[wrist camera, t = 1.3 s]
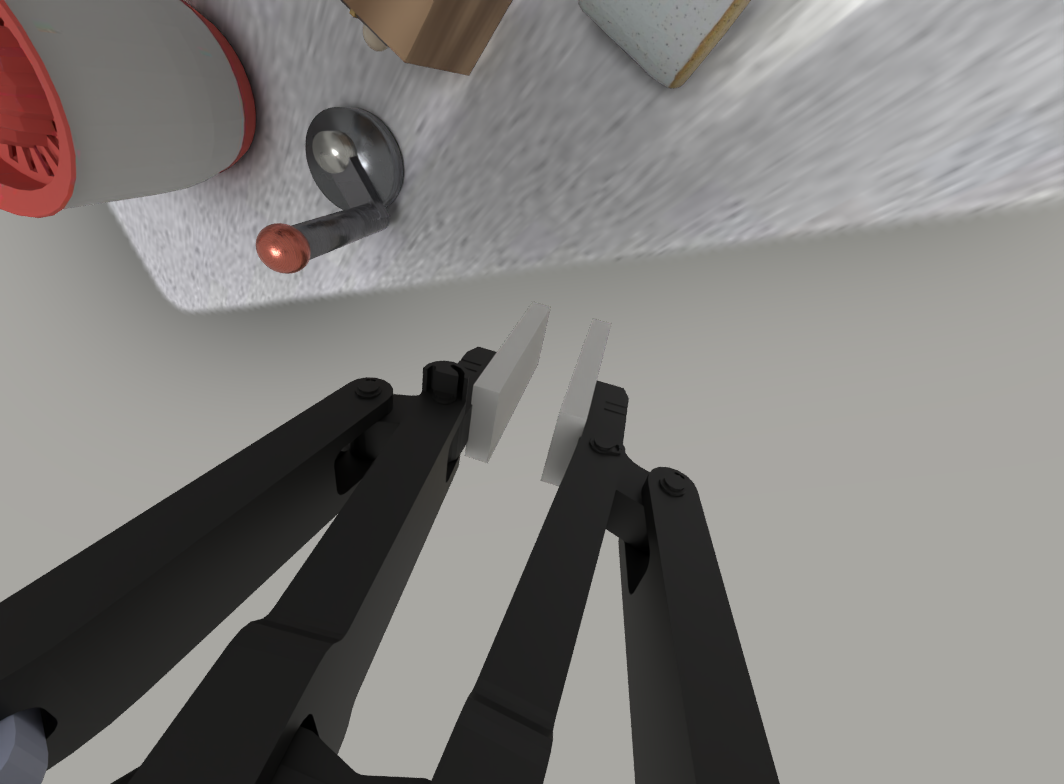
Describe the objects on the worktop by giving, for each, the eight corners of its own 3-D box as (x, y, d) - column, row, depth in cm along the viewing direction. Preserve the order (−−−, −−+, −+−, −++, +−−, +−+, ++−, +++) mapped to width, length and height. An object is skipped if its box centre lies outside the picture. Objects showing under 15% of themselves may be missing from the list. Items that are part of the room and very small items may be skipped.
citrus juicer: (137, -114, 32) (-412, -353, 16) (310, 109, 37) (35, 105, 21) (83, 52, 40) (-323, 8, 23) (233, 217, 45) (-13, 276, 29)
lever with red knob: (304, 135, 38) (132, 144, 26) (369, 88, 35) (208, 73, 23) (367, 244, 42) (245, 297, 30) (431, 212, 39) (323, 256, 27)
